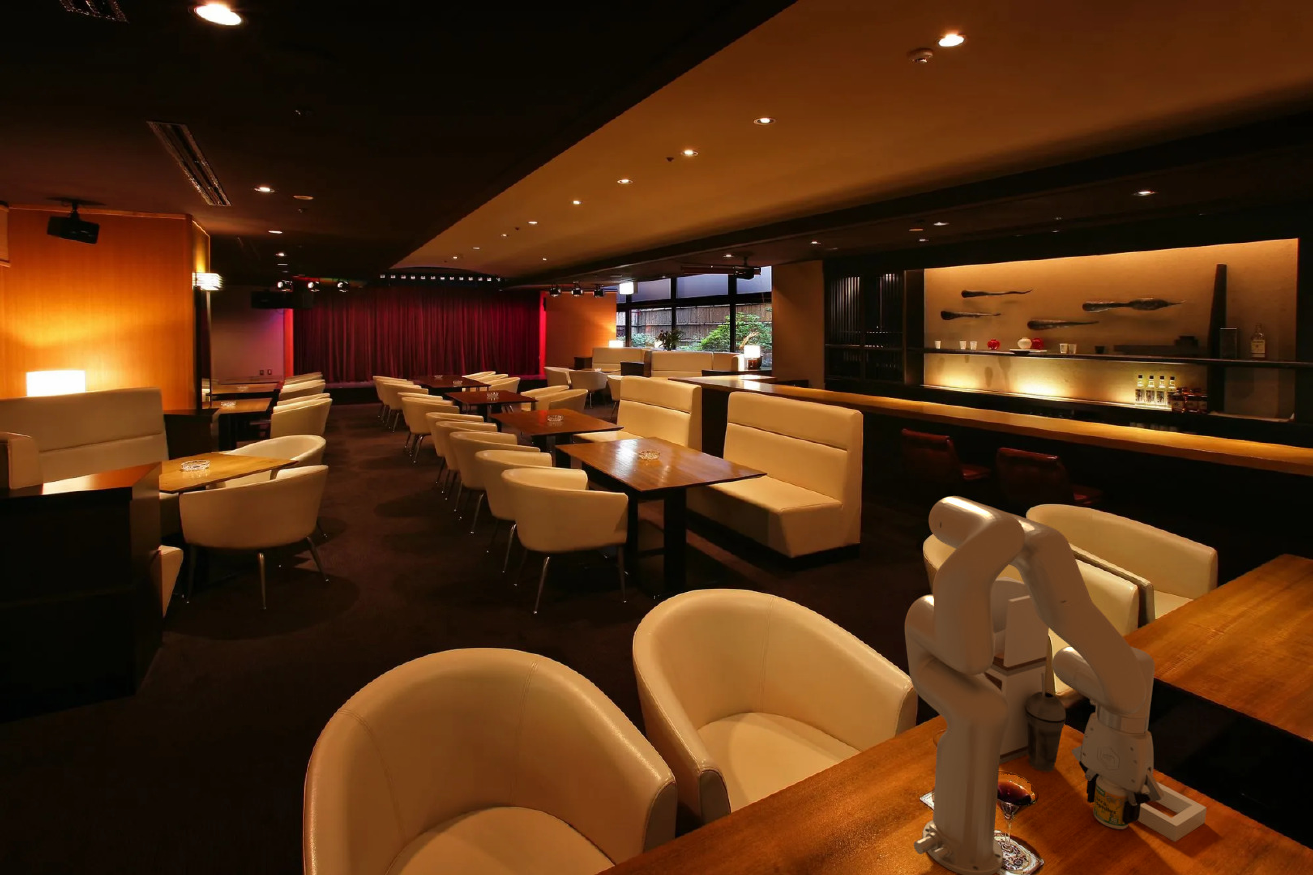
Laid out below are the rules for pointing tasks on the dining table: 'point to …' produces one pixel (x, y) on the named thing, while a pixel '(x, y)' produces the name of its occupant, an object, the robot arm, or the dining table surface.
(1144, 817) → the white rectangular hollow frame
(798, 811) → the dining table surface
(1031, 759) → the beverage cup
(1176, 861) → the dining table surface
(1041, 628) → the white notched pedestal
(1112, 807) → the supplement bottle
